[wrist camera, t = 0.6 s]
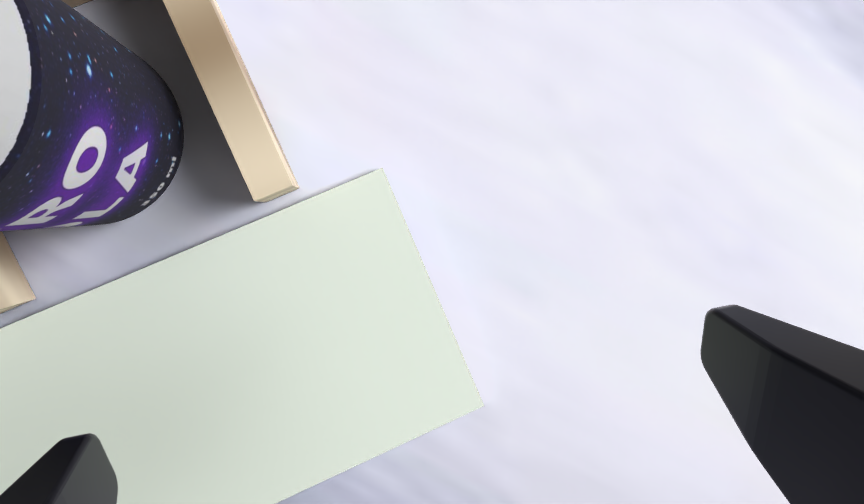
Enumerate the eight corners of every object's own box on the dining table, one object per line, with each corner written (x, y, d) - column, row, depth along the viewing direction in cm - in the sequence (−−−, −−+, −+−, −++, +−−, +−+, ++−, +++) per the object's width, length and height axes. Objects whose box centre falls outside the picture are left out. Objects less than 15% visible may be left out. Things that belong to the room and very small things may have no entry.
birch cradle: (299, 188, 22) (292, 185, 19) (-1, 313, 21) (-57, 331, 18) (182, -76, 21) (155, -123, 18) (-140, 43, 20) (-224, 14, 17)
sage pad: (480, 400, 23) (484, 405, 23) (50, 601, 22) (41, 612, 21) (381, 168, 22) (382, 167, 22) (-79, 362, 21) (-90, 366, 20)
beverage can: (-20, 188, 21) (-509, 162, 9) (39, 20, 21) (-377, -236, 9) (157, 248, 22) (-72, 296, 10) (214, 86, 21) (53, -65, 10)
